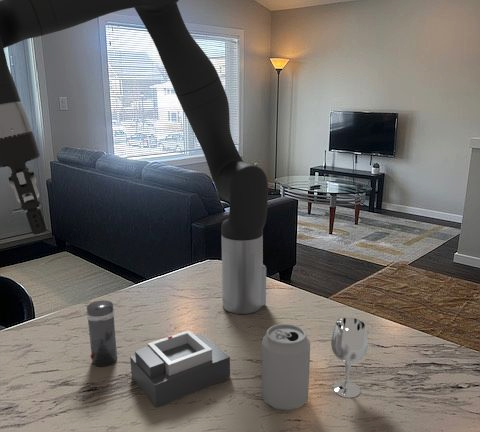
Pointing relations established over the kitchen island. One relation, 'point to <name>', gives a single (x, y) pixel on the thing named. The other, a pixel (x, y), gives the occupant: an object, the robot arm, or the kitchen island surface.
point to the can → (285, 366)
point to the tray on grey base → (178, 366)
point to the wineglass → (348, 350)
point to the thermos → (102, 333)
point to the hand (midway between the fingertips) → (39, 228)
